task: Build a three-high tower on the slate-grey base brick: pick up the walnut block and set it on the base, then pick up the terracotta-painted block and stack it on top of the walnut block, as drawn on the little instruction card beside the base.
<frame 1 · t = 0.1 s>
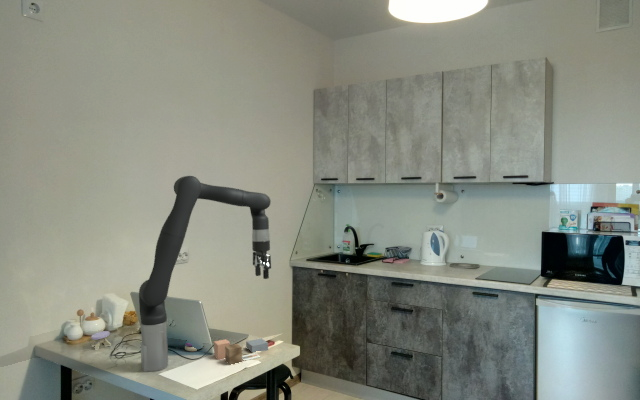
hand: (262, 277, 194), 29 cm above the table, fingers open, 8 cm apart
terracotta brick: (222, 356, 181), on the table
walnut brick: (233, 361, 175), on the table
base brick: (257, 349, 188), on the table
stacking toy: (194, 349, 191), on the table
instruction card: (249, 357, 179), on the table
toy table: (100, 347, 197), on the table
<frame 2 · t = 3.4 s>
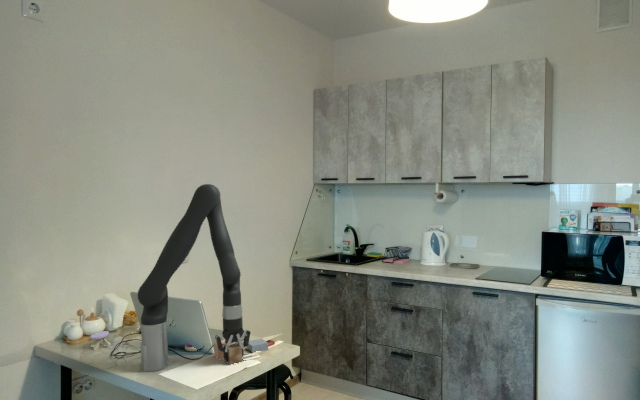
hand: (233, 359, 175), 1 cm above the table, fingers closed on walnut brick, 5 cm apart
walnut brick: (233, 361, 175), on the table, touching gripper
everything else where it was.
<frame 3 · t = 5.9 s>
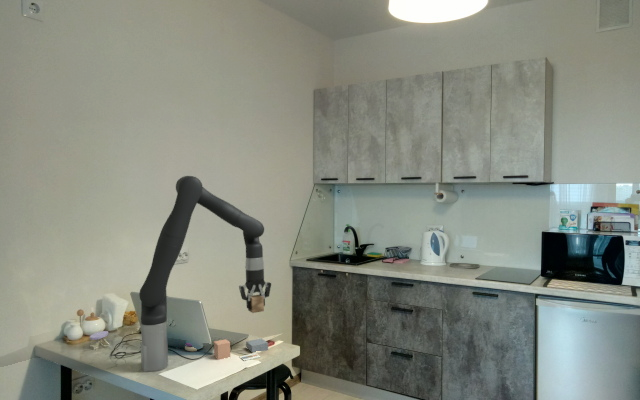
hand: (255, 308, 188), 17 cm above the table, fingers closed on walnut brick, 5 cm apart
walnut brick: (256, 310, 188), point 16 cm above the table, touching gripper
everything else where it was.
when the fingers open (5 cm above the table, at t = 8.6 s): walnut brick stays where it is, resting on base brick.
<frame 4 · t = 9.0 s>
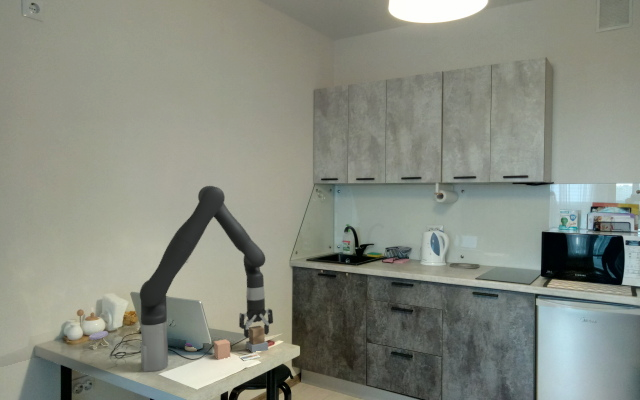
hand: (256, 335, 188), 6 cm above the table, fingers open, 8 cm apart
walnut brick: (256, 342, 188), point 3 cm above the table, touching base brick
everything else where it was.
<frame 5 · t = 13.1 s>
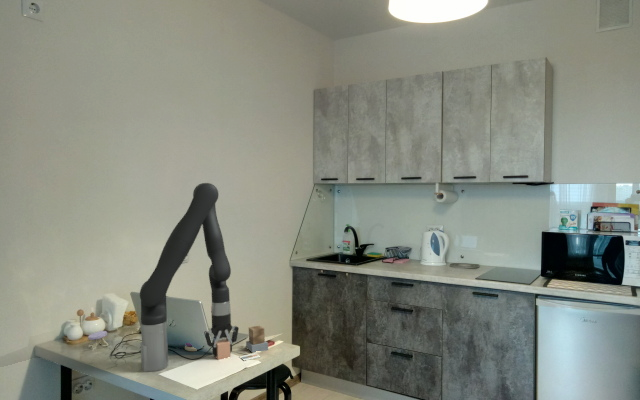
hand: (222, 354, 181), 1 cm above the table, fingers closed on terracotta brick, 5 cm apart
terracotta brick: (222, 356, 181), on the table, touching gripper
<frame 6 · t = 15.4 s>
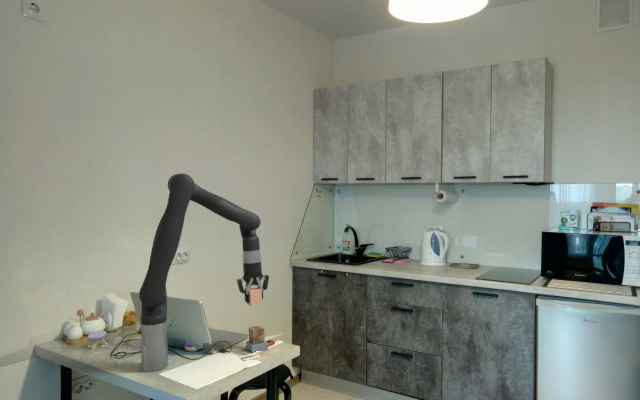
hand: (254, 301, 187), 20 cm above the table, fingers closed on terracotta brick, 5 cm apart
terracotta brick: (254, 303, 187), point 19 cm above the table, touching gripper
when the fingers open (11 cm above the table, at t = 18.0 s): terracotta brick stays where it is, resting on walnut brick.
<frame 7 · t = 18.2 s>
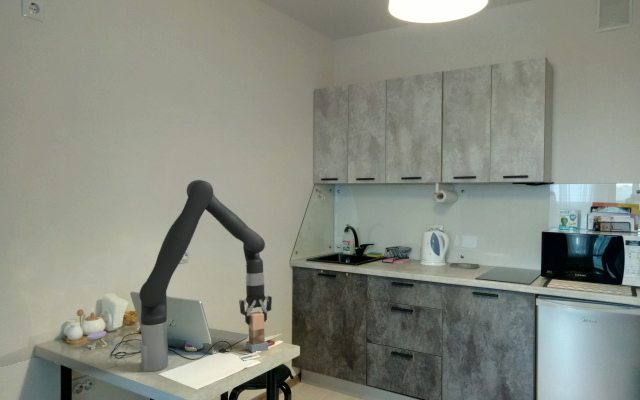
hand: (256, 322, 188), 11 cm above the table, fingers open, 6 cm apart
terracotta brick: (256, 327, 188), point 9 cm above the table, touching walnut brick
walnut brick: (256, 342, 188), point 3 cm above the table, touching base brick, terracotta brick
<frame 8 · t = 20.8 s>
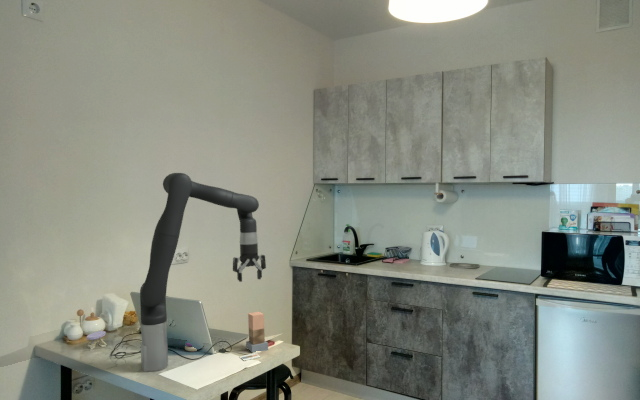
hand: (249, 280, 193), 28 cm above the table, fingers open, 8 cm apart
at the end: walnut brick 0.1 cm off-centre on the base brick, point 3.0 cm above the base brick's base; terracotta brick 0.0 cm off-centre on the walnut brick, point 6.0 cm above the walnut brick's base; terracotta brick tilted 0° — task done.
